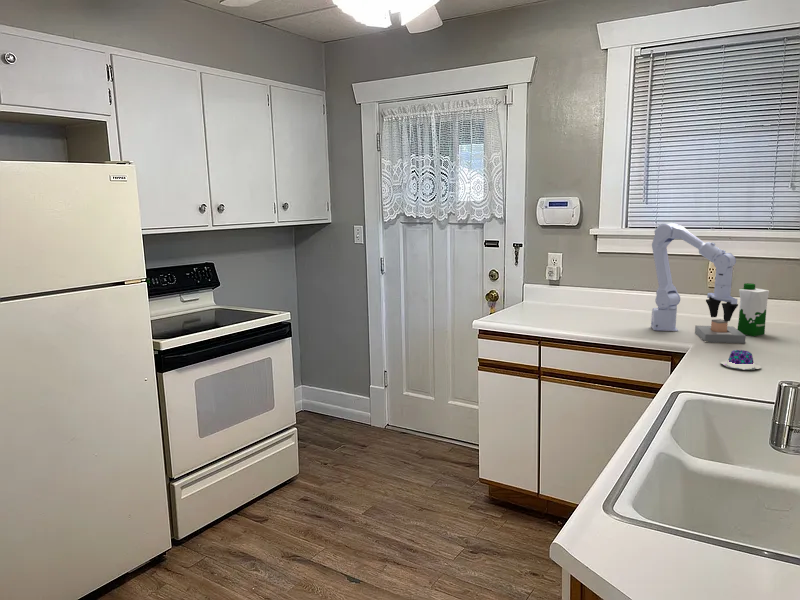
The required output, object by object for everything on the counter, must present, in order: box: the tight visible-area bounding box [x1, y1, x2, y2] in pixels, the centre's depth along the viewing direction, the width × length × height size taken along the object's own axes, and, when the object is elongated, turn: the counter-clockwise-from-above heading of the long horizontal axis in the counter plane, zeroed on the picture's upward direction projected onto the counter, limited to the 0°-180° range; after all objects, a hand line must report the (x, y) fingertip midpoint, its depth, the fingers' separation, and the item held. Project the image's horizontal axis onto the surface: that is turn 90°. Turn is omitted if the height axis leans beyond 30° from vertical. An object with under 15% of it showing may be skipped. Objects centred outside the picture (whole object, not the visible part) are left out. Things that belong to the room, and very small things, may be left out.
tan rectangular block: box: [710, 318, 729, 332], centre depth 238 cm, size 4×4×7 cm
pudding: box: [727, 349, 755, 364], centre depth 200 cm, size 12×12×5 cm
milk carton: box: [736, 282, 770, 337], centre depth 242 cm, size 9×9×20 cm
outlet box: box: [694, 325, 747, 344], centre depth 238 cm, size 14×16×3 cm
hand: (720, 319), depth 237 cm, fingers open, 7 cm apart
